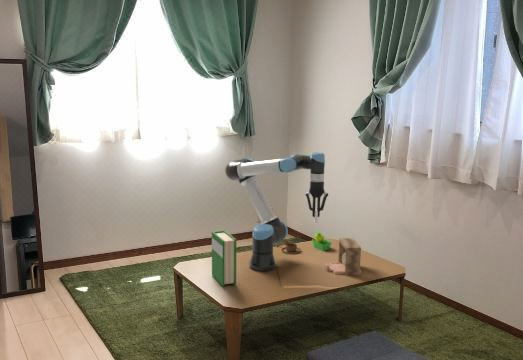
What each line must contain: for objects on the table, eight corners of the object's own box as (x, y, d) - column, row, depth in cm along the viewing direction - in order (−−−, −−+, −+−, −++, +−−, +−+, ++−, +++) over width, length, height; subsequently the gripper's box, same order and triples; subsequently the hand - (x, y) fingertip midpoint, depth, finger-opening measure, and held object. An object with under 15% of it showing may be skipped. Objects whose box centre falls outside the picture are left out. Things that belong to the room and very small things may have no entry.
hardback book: (236, 284, 265) (236, 239, 261) (222, 286, 262) (222, 240, 258) (224, 273, 281) (224, 230, 277) (211, 274, 278) (211, 231, 274)
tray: (328, 274, 281) (328, 269, 281) (323, 265, 295) (323, 260, 295) (361, 274, 282) (361, 268, 282) (354, 265, 297) (355, 260, 296)
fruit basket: (332, 250, 323) (332, 232, 321) (320, 252, 319) (321, 234, 317) (320, 245, 333) (321, 228, 331) (309, 247, 328) (310, 230, 326)
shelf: (345, 275, 280) (346, 247, 277) (338, 264, 298) (339, 238, 295) (359, 275, 281) (361, 247, 278) (351, 264, 298) (353, 238, 296)
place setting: (280, 256, 312) (280, 247, 311) (270, 246, 331) (270, 237, 330) (307, 254, 317) (307, 244, 316) (296, 244, 336) (296, 235, 335)
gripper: (306, 182, 278) (305, 224, 282) (330, 182, 279) (328, 224, 283) (304, 179, 285) (303, 220, 290) (327, 179, 286) (326, 220, 290)
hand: (315, 222), depth 286 cm, fingers closed
